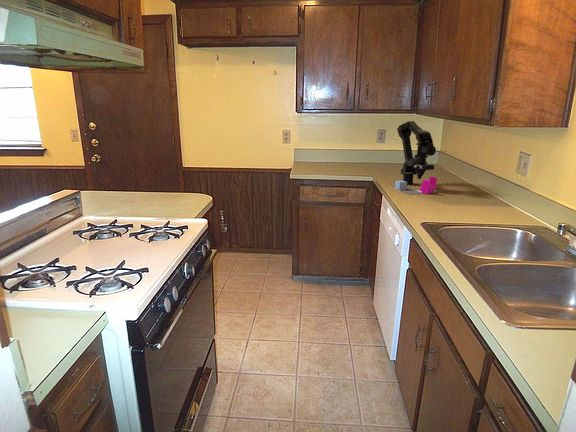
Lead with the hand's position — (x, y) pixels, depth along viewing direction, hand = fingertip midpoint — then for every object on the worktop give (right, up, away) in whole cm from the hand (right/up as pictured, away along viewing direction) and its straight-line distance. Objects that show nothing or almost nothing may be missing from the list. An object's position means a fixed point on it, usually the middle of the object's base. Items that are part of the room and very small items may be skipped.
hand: (419, 179), depth 238 cm
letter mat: (-1, -8, -7) cm, 11 cm away
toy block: (+3, -8, -6) cm, 10 cm away
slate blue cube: (-12, -6, -1) cm, 13 cm away
